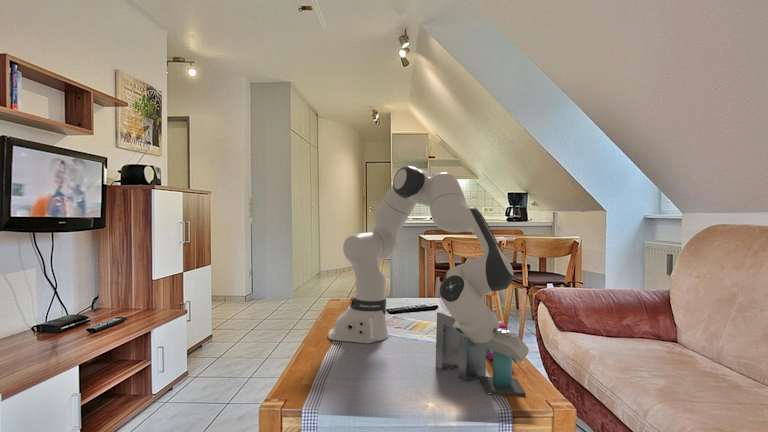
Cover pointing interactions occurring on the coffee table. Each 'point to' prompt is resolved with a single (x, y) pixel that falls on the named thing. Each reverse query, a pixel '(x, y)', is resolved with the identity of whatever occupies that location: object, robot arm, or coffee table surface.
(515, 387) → the mat
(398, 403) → the coffee table surface
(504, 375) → the teal cylindrical piece
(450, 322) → the housing
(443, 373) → the coffee table surface
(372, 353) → the coffee table surface
